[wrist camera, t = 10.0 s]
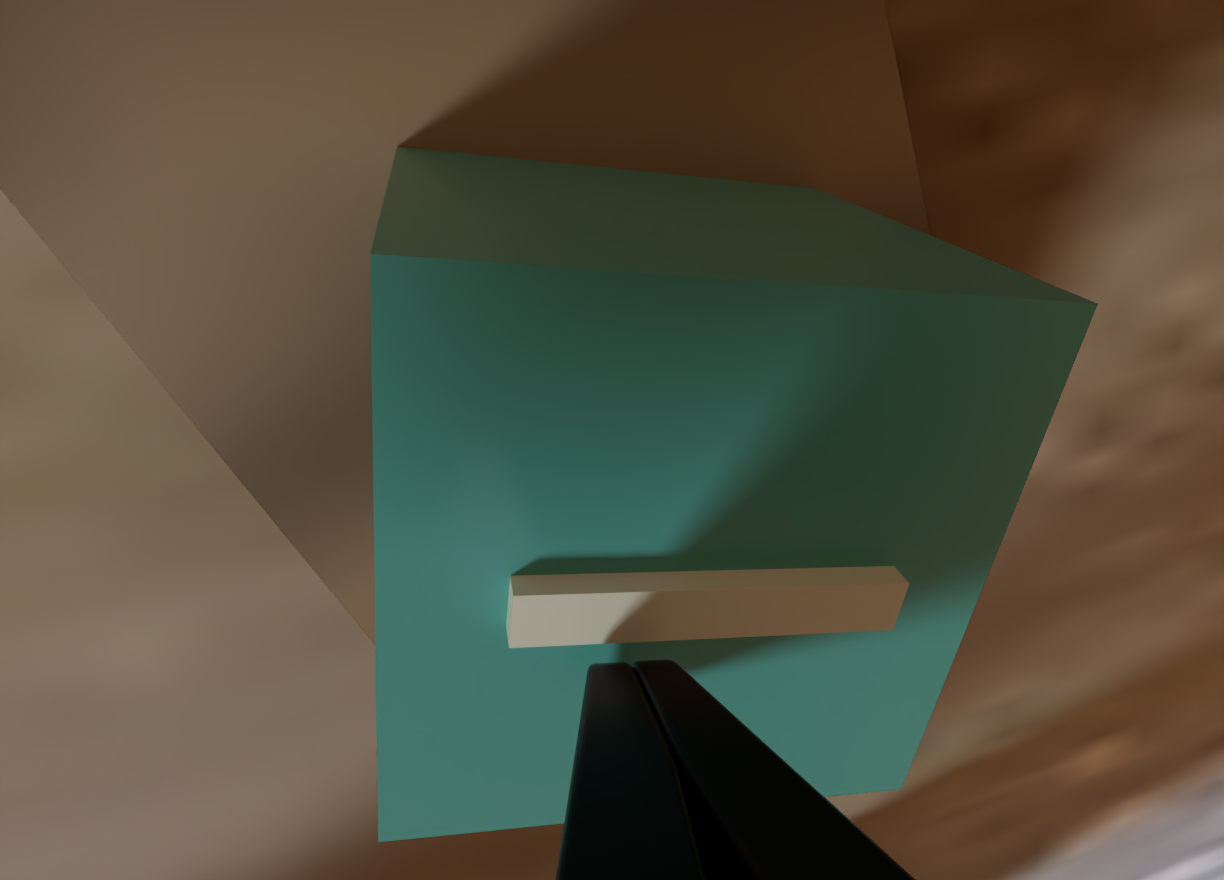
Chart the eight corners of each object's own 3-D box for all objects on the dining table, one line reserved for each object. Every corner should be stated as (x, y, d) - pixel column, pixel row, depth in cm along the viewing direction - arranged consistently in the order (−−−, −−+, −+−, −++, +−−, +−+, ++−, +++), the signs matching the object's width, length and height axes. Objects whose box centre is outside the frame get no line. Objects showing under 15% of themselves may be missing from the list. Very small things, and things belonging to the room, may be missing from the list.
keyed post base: (966, 528, 18) (1140, 688, 14) (491, 754, 18) (511, 984, 14) (766, -393, 10) (1031, -722, 6) (-83, 28, 10) (-470, 29, 6)
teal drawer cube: (817, 188, 12) (1122, 313, 7) (738, 529, 15) (913, 808, 10) (397, 146, 11) (367, 263, 5) (397, 533, 14) (376, 867, 8)
